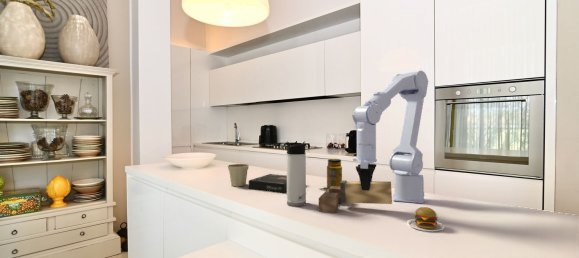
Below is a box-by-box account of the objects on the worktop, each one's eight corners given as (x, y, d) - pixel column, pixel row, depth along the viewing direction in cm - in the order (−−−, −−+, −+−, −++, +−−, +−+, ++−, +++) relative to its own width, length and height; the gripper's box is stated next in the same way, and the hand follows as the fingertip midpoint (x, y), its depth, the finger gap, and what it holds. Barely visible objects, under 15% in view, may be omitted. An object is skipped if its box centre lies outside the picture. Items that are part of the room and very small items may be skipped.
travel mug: (305, 207, 95) (305, 144, 94) (285, 206, 96) (284, 144, 96) (308, 201, 101) (307, 142, 101) (289, 201, 102) (288, 142, 102)
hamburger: (410, 218, 86) (410, 199, 86) (457, 227, 78) (457, 206, 77) (392, 229, 77) (392, 207, 77) (443, 241, 69) (443, 217, 69)
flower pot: (225, 184, 131) (224, 164, 131) (245, 182, 135) (245, 163, 135) (230, 188, 122) (230, 167, 122) (252, 186, 126) (252, 165, 126)
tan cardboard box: (343, 201, 101) (343, 186, 101) (335, 213, 89) (335, 196, 88) (328, 200, 103) (328, 185, 103) (318, 211, 90) (318, 194, 90)
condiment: (346, 189, 120) (346, 159, 120) (333, 192, 114) (333, 161, 114) (332, 186, 125) (332, 157, 125) (318, 189, 120) (318, 159, 119)
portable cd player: (303, 185, 128) (303, 176, 128) (284, 194, 113) (284, 184, 113) (270, 182, 136) (270, 173, 136) (248, 190, 121) (248, 180, 121)
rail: (392, 201, 91) (390, 180, 91) (392, 204, 88) (390, 182, 88) (342, 199, 96) (341, 180, 96) (341, 202, 93) (339, 182, 93)
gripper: (355, 142, 100) (355, 183, 100) (349, 146, 86) (349, 192, 86) (377, 143, 97) (377, 184, 98) (375, 146, 84) (375, 194, 84)
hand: (366, 188), depth 92 cm, fingers closed on rail, 3 cm apart
